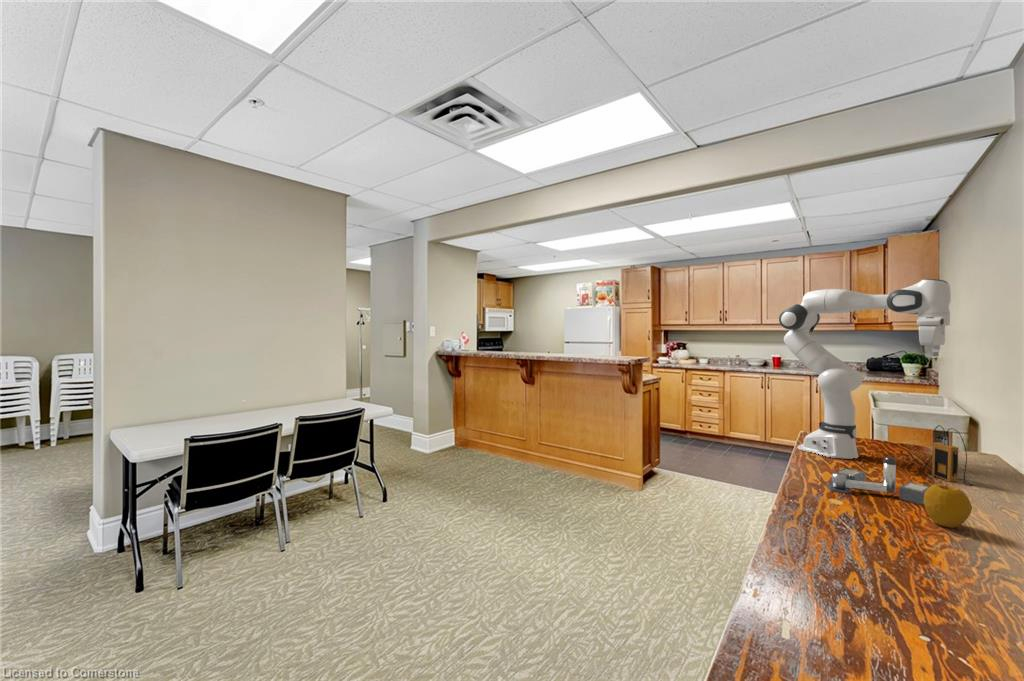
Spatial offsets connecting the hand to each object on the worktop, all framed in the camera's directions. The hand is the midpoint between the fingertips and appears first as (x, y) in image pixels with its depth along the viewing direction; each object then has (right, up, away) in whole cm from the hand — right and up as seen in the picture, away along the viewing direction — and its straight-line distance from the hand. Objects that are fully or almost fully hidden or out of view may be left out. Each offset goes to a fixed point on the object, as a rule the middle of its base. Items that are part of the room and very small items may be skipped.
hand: (932, 357), depth 165 cm
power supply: (-27, -46, -23) cm, 58 cm away
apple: (-36, -47, -42) cm, 73 cm away
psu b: (-38, -46, -8) cm, 60 cm away
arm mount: (-47, -46, -14) cm, 67 cm away
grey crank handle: (-40, -45, -17) cm, 63 cm away
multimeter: (+5, -46, -3) cm, 47 cm away
